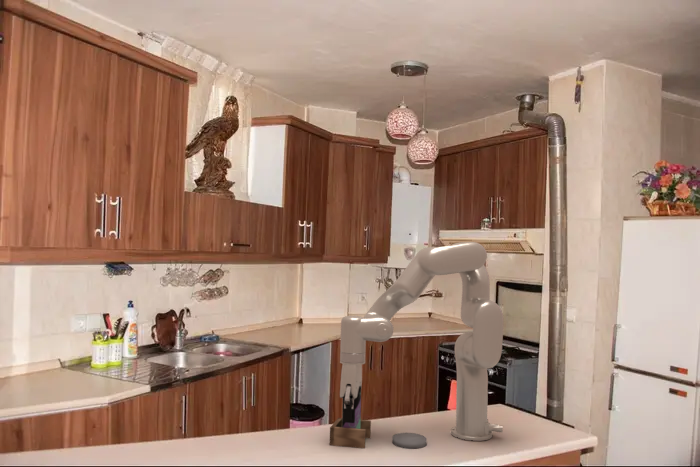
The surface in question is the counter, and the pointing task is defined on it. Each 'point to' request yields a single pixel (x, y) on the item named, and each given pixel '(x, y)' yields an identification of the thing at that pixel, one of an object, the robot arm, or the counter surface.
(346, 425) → the spray can
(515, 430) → the counter surface
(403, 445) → the mat
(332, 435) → the frame
